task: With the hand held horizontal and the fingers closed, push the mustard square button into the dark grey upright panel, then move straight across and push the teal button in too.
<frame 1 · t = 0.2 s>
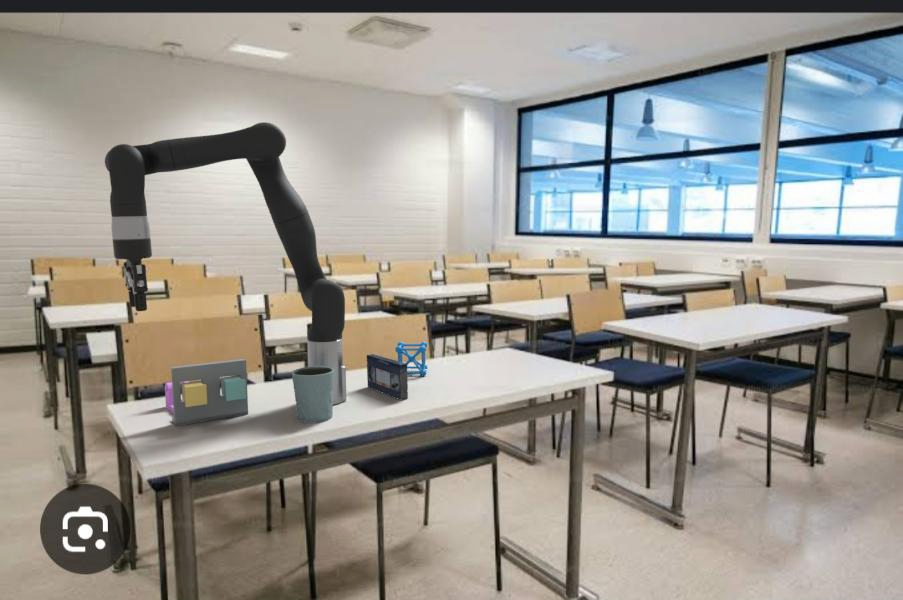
hand: (138, 308, 135), 29 cm above the table, tool pointing down, fingers open, 8 cm apart
teal button: (232, 387, 146), point 8 cm above the table, slide at 0.0 cm
teal cup: (314, 418, 148), on the table
bracket: (184, 411, 155), on the table
molecular structure: (411, 374, 196), on the table
panel: (212, 418, 147), on the table
mustard button: (193, 392, 141), point 8 cm above the table, slide at 0.0 cm
vhs cassette tape: (386, 393, 172), on the table
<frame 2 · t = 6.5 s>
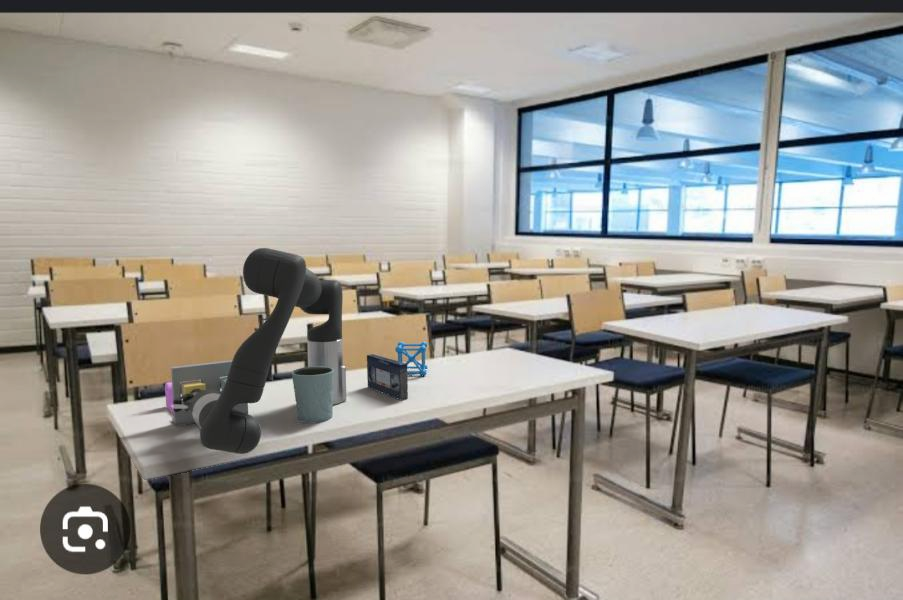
hand: (195, 393, 139), 8 cm above the table, tool horizontal, fingers closed
mustard button: (193, 392, 142), point 8 cm above the table, slide at 0.8 cm, touching gripper
everything else where it was.
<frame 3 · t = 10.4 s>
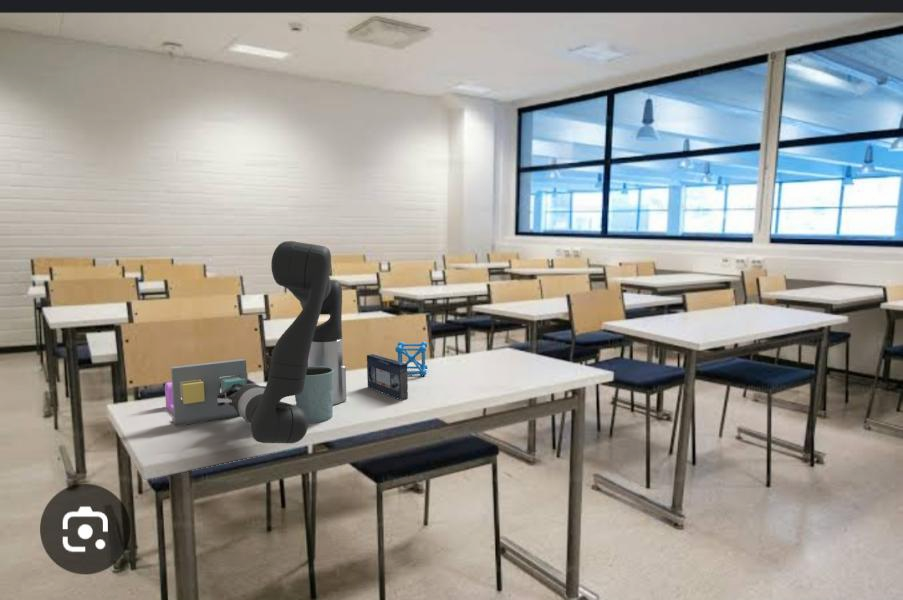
hand: (235, 388, 144), 9 cm above the table, tool horizontal, fingers closed
teal button: (232, 387, 147), point 8 cm above the table, slide at 0.3 cm, touching gripper
mustard button: (191, 390, 144), point 8 cm above the table, slide at 3.0 cm
everything else where it was.
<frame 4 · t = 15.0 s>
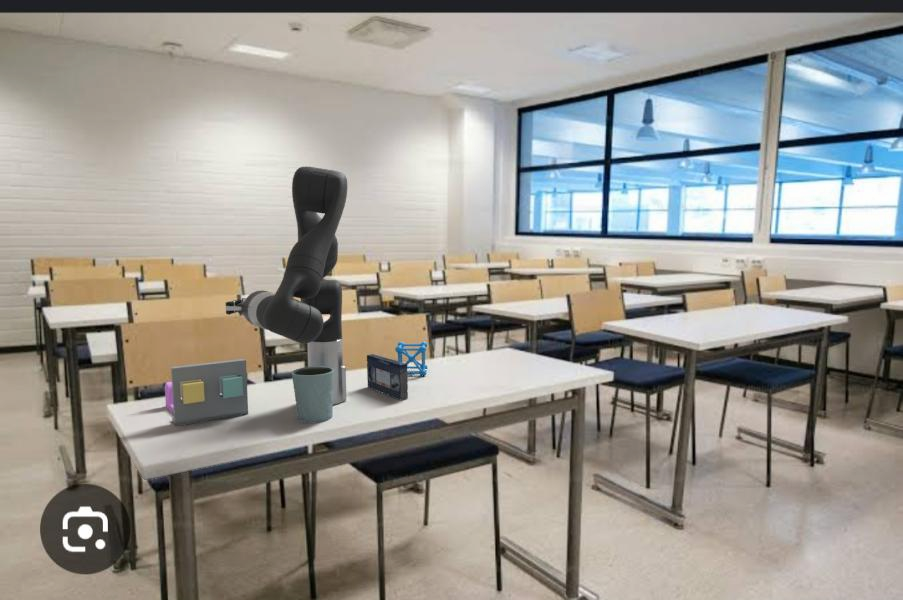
hand: (244, 302, 136), 30 cm above the table, tool horizontal, fingers closed
teal button: (229, 385, 149), point 8 cm above the table, slide at 3.0 cm
everything else where it was.
at the end: mustard button slide at 3.0 cm; teal button slide at 3.0 cm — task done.
